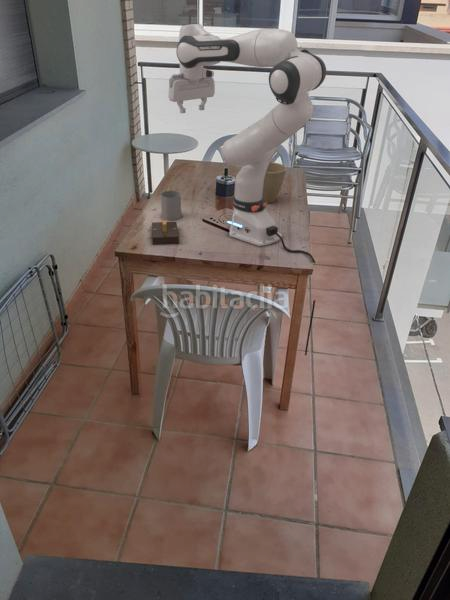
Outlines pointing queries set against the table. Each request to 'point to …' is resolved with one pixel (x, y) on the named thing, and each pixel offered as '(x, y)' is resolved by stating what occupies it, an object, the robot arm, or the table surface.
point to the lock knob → (164, 225)
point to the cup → (171, 205)
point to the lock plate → (164, 233)
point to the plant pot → (273, 181)
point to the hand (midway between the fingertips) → (192, 111)
